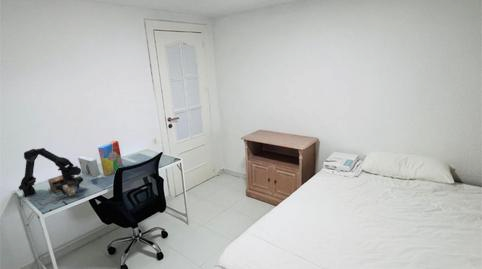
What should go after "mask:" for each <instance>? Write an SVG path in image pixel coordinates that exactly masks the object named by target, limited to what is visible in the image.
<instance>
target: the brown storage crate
mask: <svg viewBox="0 0 482 269" xmlns="http://www.w3.org/2000/svg"><path fill="white" fill-rule="evenodd" d="M71 176H72V178H76V177H75V175H71ZM47 180H48V184H49V187H50V191H52V192H53V193H54V194H55V193H59V192H61V190H56V189H54V185H55V184H58V183H60V184H63V183H64V180H63V177H62V174H60V175H58V176H55V177H52V178H48V179H47ZM73 187H76V183H75V185H73Z"/></svg>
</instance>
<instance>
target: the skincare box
mask: <svg viewBox="0 0 482 269" xmlns="http://www.w3.org/2000/svg"><path fill="white" fill-rule="evenodd" d="M77 159H78V163H79V168H80V169H81V173H83V174H85V175H89V176H92V177H97V176H99V175H101V172H100V168H99V165H98V162H97V161H98V160H97V158H93V157H89V156H87V155H86V156H85V155H81V156H78V158H77Z"/></svg>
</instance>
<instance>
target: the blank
mask: <svg viewBox="0 0 482 269" xmlns="http://www.w3.org/2000/svg"><path fill="white" fill-rule="evenodd" d="M62 188H63V190H64V193H65V194H66V195H67V196H73V195H76V191H75V186H71V187H68V185H65V186H62Z"/></svg>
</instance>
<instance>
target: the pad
mask: <svg viewBox="0 0 482 269" xmlns="http://www.w3.org/2000/svg"><path fill="white" fill-rule="evenodd" d="M66 197H68V194H67V193H65V195H64V194H63V193H61V194H58V195H55V196H52V197H49V198H47V199H44V200H41V201H39V203H40V205H41V206H42V205H43V206H45V204H46V205H48V204H51V203H53V202H57V201H58V200H59V201H60V200H61V199H64V198H66Z"/></svg>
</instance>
